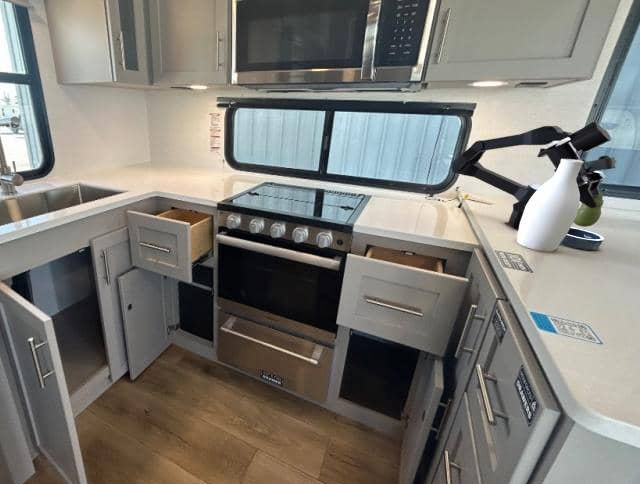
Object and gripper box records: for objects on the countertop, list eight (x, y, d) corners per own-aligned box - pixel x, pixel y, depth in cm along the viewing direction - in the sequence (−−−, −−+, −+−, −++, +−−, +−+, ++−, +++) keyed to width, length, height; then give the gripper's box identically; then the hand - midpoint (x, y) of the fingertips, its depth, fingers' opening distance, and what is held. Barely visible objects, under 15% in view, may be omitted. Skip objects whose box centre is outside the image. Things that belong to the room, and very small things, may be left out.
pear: (579, 228, 97) (595, 196, 93) (563, 222, 102) (578, 191, 98) (598, 229, 97) (615, 197, 93) (582, 222, 102) (597, 191, 98)
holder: (565, 248, 98) (571, 237, 96) (540, 234, 108) (545, 224, 106) (608, 253, 96) (614, 242, 95) (579, 238, 106) (584, 228, 105)
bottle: (508, 235, 106) (540, 155, 96) (553, 243, 101) (591, 160, 91) (516, 247, 96) (552, 160, 86) (565, 257, 92) (609, 166, 82)
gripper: (588, 146, 89) (625, 196, 85) (611, 144, 98) (645, 189, 94) (541, 168, 99) (571, 215, 94) (566, 165, 107) (595, 207, 103)
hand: (597, 206), depth 96 cm, fingers closed on pear, 4 cm apart
